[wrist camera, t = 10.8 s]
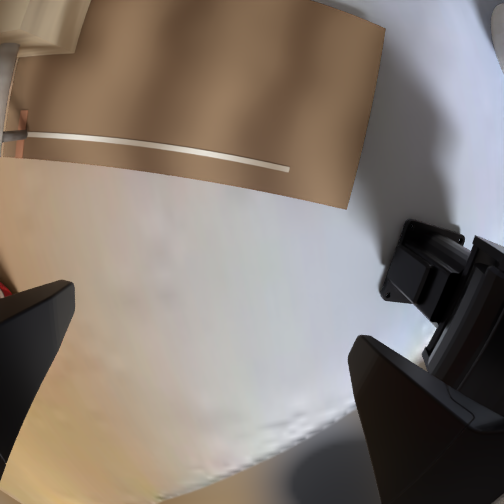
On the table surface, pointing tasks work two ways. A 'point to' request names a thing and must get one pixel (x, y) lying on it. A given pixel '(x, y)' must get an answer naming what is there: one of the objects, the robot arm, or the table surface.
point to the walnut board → (208, 94)
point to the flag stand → (498, 33)
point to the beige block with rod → (34, 39)
